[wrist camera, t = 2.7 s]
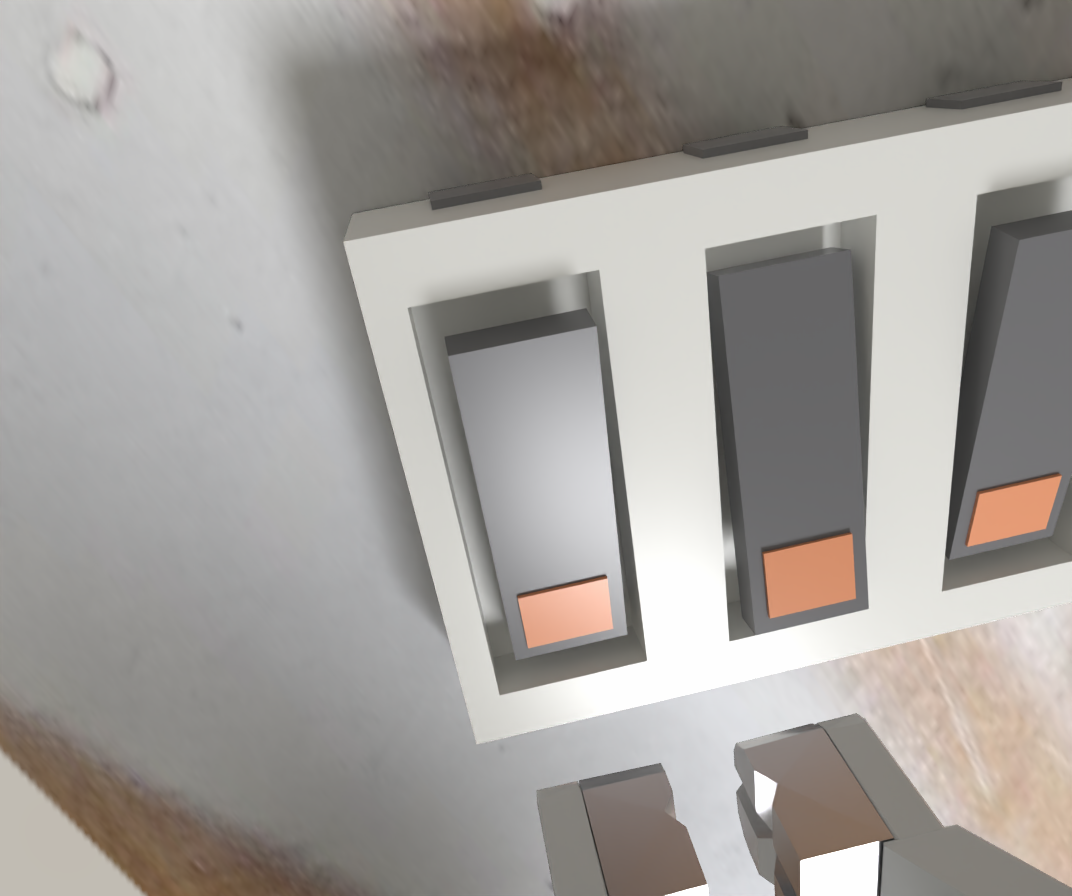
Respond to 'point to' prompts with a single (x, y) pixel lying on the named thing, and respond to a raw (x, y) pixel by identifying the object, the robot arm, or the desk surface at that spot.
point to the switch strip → (690, 380)
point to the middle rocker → (791, 435)
